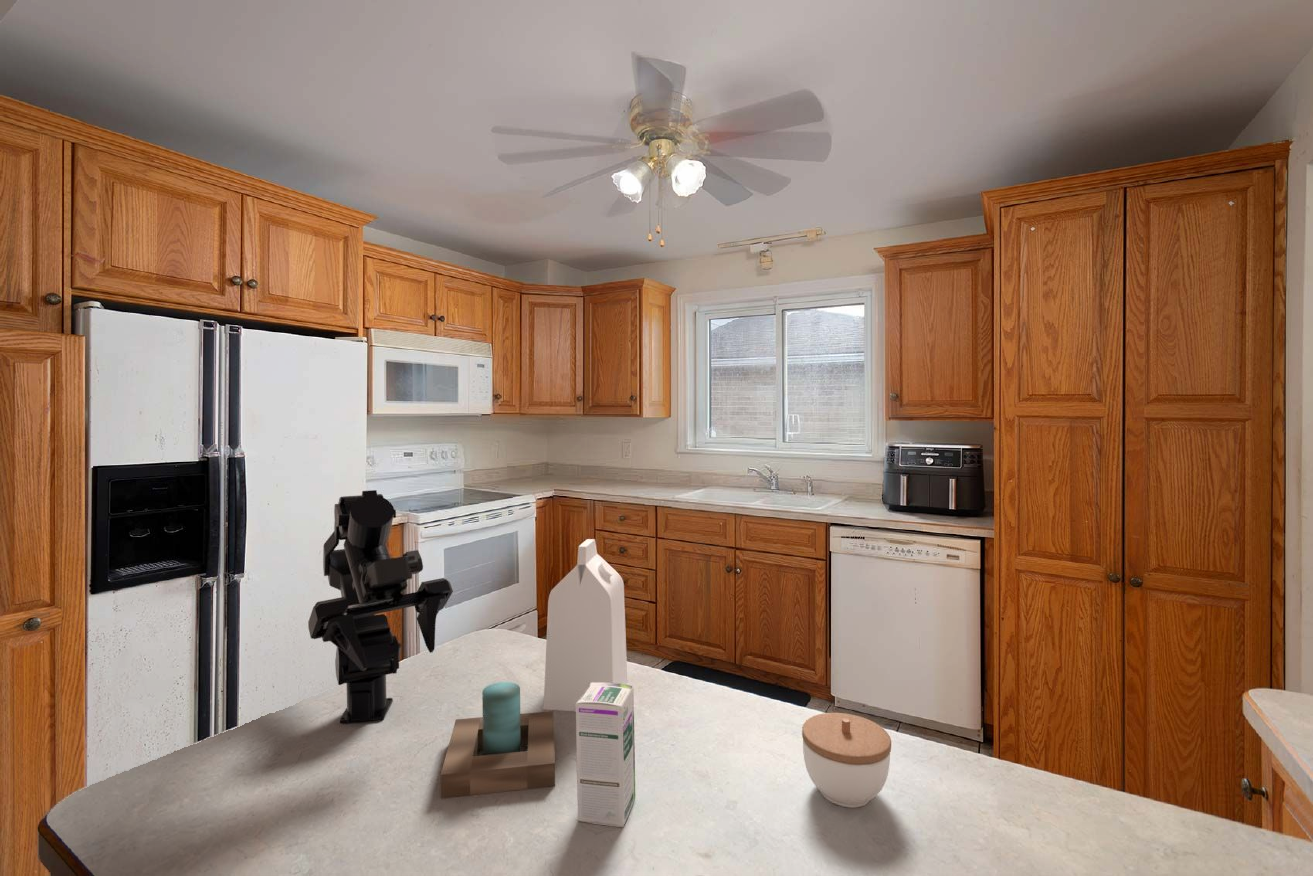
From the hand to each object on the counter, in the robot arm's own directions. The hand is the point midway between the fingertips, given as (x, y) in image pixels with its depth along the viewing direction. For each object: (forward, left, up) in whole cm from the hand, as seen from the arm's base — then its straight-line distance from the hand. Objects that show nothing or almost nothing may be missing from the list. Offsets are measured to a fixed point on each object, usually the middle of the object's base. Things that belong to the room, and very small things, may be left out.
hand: (399, 659), depth 86 cm
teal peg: (+4, +14, -14) cm, 20 cm away
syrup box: (+17, +27, -14) cm, 35 cm away
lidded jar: (+19, +57, -14) cm, 62 cm away
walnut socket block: (+4, +14, -14) cm, 20 cm away
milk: (-14, +27, -14) cm, 33 cm away
